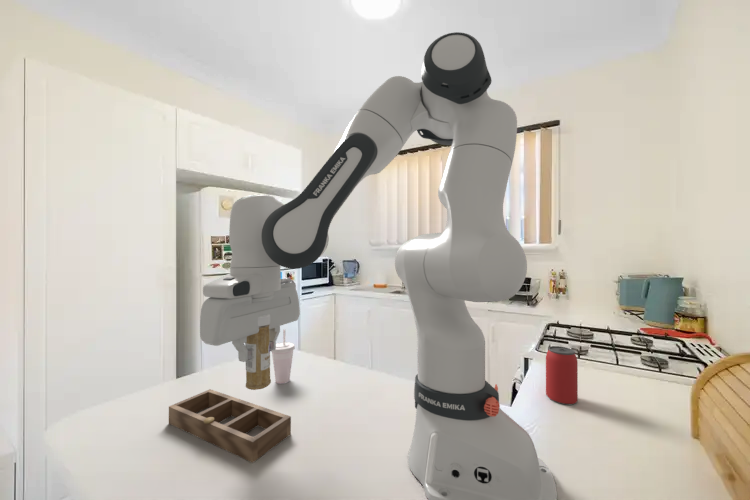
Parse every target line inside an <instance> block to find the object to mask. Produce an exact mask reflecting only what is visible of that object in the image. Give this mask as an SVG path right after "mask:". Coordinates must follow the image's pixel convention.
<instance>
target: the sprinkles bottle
mask: <svg viewBox="0 0 750 500" xmlns="http://www.w3.org/2000/svg"><path fill="white" fill-rule="evenodd" d="M268 324H270V314H267V315H263V316H260V317H258V327H260V328H259V332H258V333H256V334H253V335H250V336H247V342H246V343H244V345H245V346H246V348H247V349H248V350H252V354H251V356H252V359H250V360H248V361H246V362H245V376H246V380H245V382H246V383H245V388H246V389H247V390H251V391H252V390H253V391H256V390H262V389H264V388H267V387H268V386H269V385H270V384H271V383H272V380H271V351H270V339H269V325H268Z"/></svg>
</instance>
